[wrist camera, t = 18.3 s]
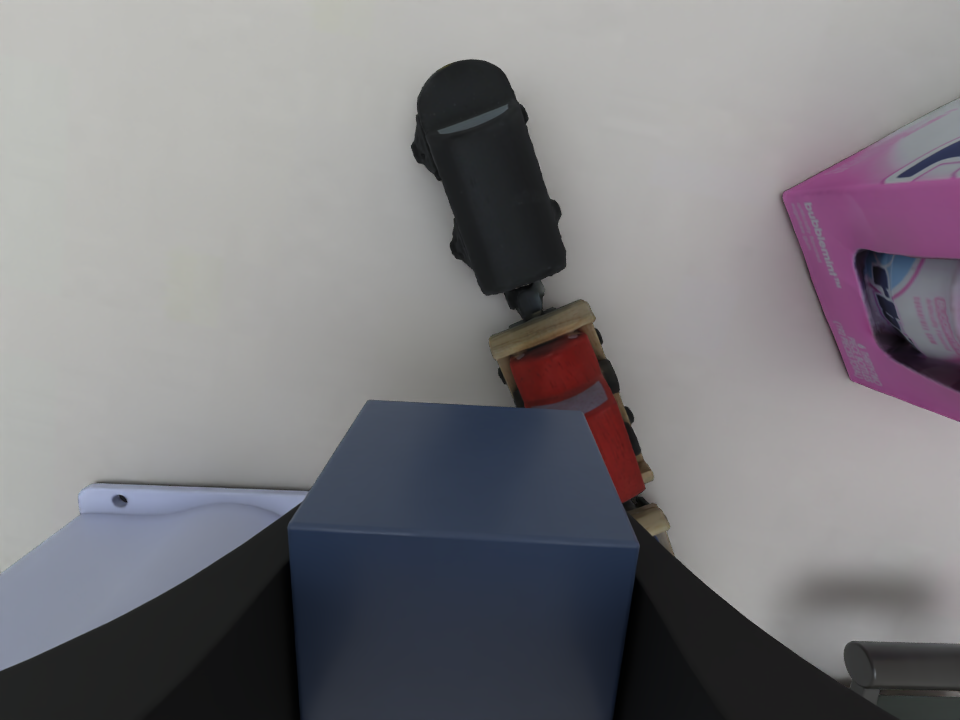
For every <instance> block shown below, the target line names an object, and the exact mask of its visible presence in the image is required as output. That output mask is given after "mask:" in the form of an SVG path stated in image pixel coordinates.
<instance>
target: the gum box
mask: <svg viewBox="0 0 960 720" xmlns="http://www.w3.org/2000/svg"><path fill="white" fill-rule="evenodd" d="M782 197H783V201H784V204H785V206H786V209H787V211H788V214H789V217H790V219H791V222H792V225H793V227H794V230H795V233H796V235H797V238H798V241H799V243H800V246H801V249H802V251H803V254H804V257H805V260H806V263H807V266H808V270H809V273H810V276H811V279H812V282H813V284H814V287H815V290H816V293H817V295H818V298H819V300H820V303H821V306H822V308H823V311H824V314H825V316H826V319H827V321H828V323H829V326H830V328H831V330H832V332H833V335H834V337H835V340H836V342H837V345H838V347H839V350H840V353H841V355H842V358H843V361H844V363H845V366H846V369H847V372H848V374H849V377H850V380H852V381H853V382H856V383H859V384H861V385H864V386H866V387H869V388H871V389H874V390H876V391H879V392H882V393H885V394H887V395H890V396H893V397H895V398H898V399H901V400H903V401H906V402H908V403H911V404H913V405H916V406H918V407H921V408H924V409H927V410H929V411H932V412H935V413H938V414H940V415H943V416H946V417H948V418H951V419H953V420H956V421H959V422H960V98H958V99H956V100H954V101H952V102H950V103H948V104H946V105H944V106H942V107H940V108H938V109H936V110H934V111H932V112H930V113H929V114H927V115H925V116H923V117H921V118H919V119H917V120H915V121H913V122H911V123H909V124H907V125H906V126H904V127H902V128H900V129H898V130H897V131H895V132H893V133H891V134H890V135H888V136H886V137H884V138H883V139H881V140H879V141H878V142H876V143H874V144H872V145H870V146H869V147H867V148H865V149H863V150H861V151H860V152H858V153H856V154H854V155H852V156H850V157H848V158H847V159H845V160H843V161H841V162H839V163H837V164H835V165H834V166H832V167H830V168H828V169H826V170H824V171H822V172H820V173H819V174H817V175H815V176H813V177H811V178H809V179H808V180H806V181H804V182H802V183H800V184H799V185H797V186H795V187H793V188H790V189H788V190H786V191H784V193H783V195H782Z"/></svg>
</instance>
